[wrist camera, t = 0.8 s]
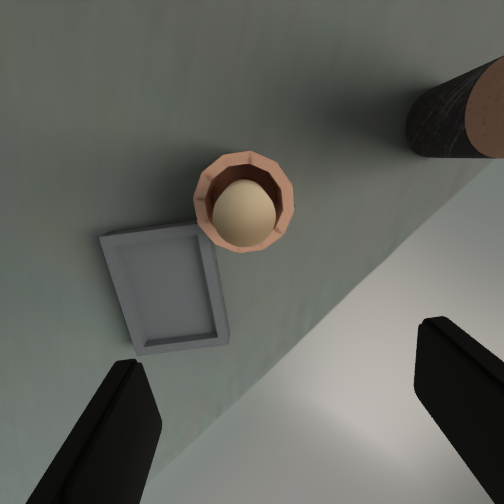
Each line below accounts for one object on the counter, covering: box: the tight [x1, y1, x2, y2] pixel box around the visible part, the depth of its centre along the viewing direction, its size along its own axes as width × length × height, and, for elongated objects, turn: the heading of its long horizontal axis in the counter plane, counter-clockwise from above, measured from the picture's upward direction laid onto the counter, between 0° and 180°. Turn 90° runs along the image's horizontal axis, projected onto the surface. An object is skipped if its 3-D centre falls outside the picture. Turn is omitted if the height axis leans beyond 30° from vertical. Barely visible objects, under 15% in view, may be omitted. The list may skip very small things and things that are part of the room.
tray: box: [99, 220, 230, 356], centre depth 33 cm, size 16×12×2 cm
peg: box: [213, 177, 276, 247], centre depth 24 cm, size 4×4×12 cm
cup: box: [193, 151, 294, 253], centre depth 28 cm, size 9×9×7 cm
